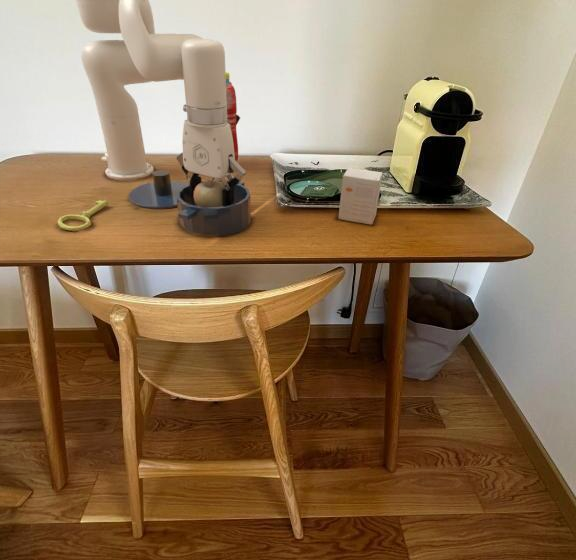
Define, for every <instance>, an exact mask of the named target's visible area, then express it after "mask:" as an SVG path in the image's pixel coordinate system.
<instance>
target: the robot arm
mask: <svg viewBox="0 0 576 560" xmlns="http://www.w3.org/2000/svg"><path fill="white" fill-rule="evenodd" d="M75 1H76V5H77V9H78V13H79V17H80V19H81V22H82V24H83V25H84V27H85V28H86V29H87V30H88V31H90V32H93V33H97V34H121V38H122V39H103V40H102V39H101V40H94V41H91V42H88V43H86V44H85V45H84V47H83V48H82V50H81V63H82V65H83V68H84V71H85V73H86V77H87V79H88V81H89V84H90V87H91V90H92V93H93V97H94V100H95V104H96V110H97V113H98V116H99V117H98V118H99V121H100V126H101V131H102V135H103V140H104V144H105V149H106V152H105V153H104V156H101V161H102V162H103V163H107V168H106V169H105V171H104V172H105V176H107V177H108V178H110V179H114V180H124V181H125V180H126V181H127V180H137V179H142V178H145V177H148V176H150V175H152V173H153V172H154V171H155V169H154V166H153V165H152V164H150V163H148V162H147V156H146V150H145V143H144V139H143V133H142V132H143V131H142V126H141V119H140V115H139V114H140V113H139V109H138V105H137V101H136V100H135V99H134V98H133V96H132V95H131V94H130V93H129V92H128V90H127V89H126V88H125V86H129V85H136V84H138V85H139V84H146V83H147V84H148V83H151V82H154V83H155V82H156V83H157V82H168V81H169V82H170V81H178V80H179V81H180V80H181V81H183V85H184V86H183V87H184V96H185V104H183V105H182V110H183V112H185V113H186V119H185V120H184V121H183V128H182V144H181V145H182V152H181V153H180V154H178V155H177V156H176V161H177V162H178V163H179V165H180V167H181V170H182V171H183V172H184V174H185V175H186V180H188V181H189V184H190V191H191V198H194V196H193V195H194V190H195V188H196V186H197V185H198V184H199V183H201V181H202V177H201V176H204V177H207V178H212V179H213V178H214V179H215V180H221V182H222V184H223V186H224V188H225V189H223V190H222V197H223V206H229V205H231V204H233V202H234V186H236V185H237V184H238V183H239V182H242V179H243V178H244V177H245V176H246V174H247V171H246V169H244V168H243V166H242V165H241V164H240V163H239V162H238V160H237V161H236V160H235V154H234V144H233V137H232V132H231V128H230V124H229V123H227V102H226V73H225V72H226V53H225V48H224V45H223V44H222V43H221V42H220V41H218V40H214V39H208V38H202V37H201V36H199V35H196V34H194V33H193V34H192V33H156V31H155V22H154V14H153V10H152V6H151V3H150V1H149V0H75ZM233 173H235V175H233ZM228 181H229V182H228Z"/></svg>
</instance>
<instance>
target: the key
mask: <svg viewBox="0 0 576 560" xmlns="http://www.w3.org/2000/svg"><path fill="white" fill-rule="evenodd" d="M94 203H95V205H94V206H93V207H91V208H90V209H88V210H87V211H82V212H81V214H76V213H75V214H74V213H72V214H65V215H62V216H60V217H59V218H58V219H57V225H58V226H59V228H60V229H62V230H65V231H70V232H78V231H79V230H84V229H88V228H89V227H91V226H92V221H91V219H90V218H91V216H94V214H96V213H98V212H99V211H101V210H102V209H104V208H105V207H107V206H108V205H109V204H110V203H109V201H108V200H107V199H103V200H100V199H98V200H96V201H95V202H94ZM68 220H76V221H77V220H78V221H82V222H84V224H81V225H67V224H65V223H63V222H65V221H68Z"/></svg>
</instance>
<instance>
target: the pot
mask: <svg viewBox="0 0 576 560" xmlns="http://www.w3.org/2000/svg"><path fill="white" fill-rule="evenodd" d="M215 180H216V181H219V182H221V180H220V179H215ZM204 181H205V180H201V182H204ZM228 182H229V180H228ZM221 183H222V182H221ZM251 201H252V200H251V192H250V189H249V188H248V187H247V186H245V182H243V181H240V182H239V183H238V184H237V185H236V186H234V202H233V204H231V205H229V206H222V207H200V206H197V205H196V204H195V201H194V198H191V191H190V183H188V185H186V186H184V187H182V188H181V189H180V190H179V191H178V192H177V205H178V207H177V217H178V220H179V225H180V226H181V227H183V229H185V230H187V231H189V232H191V233H193V234H194V233H195V234H199V235H205V236H216V238H220V237H221V238H222V237H228V236H232V235H235V234H238V233H241V232H243V231H244V230H245V229H246V228H248V227H249V225H250V223H251V221H252V220H251V219H252V210H251V209H252V207H251Z"/></svg>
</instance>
